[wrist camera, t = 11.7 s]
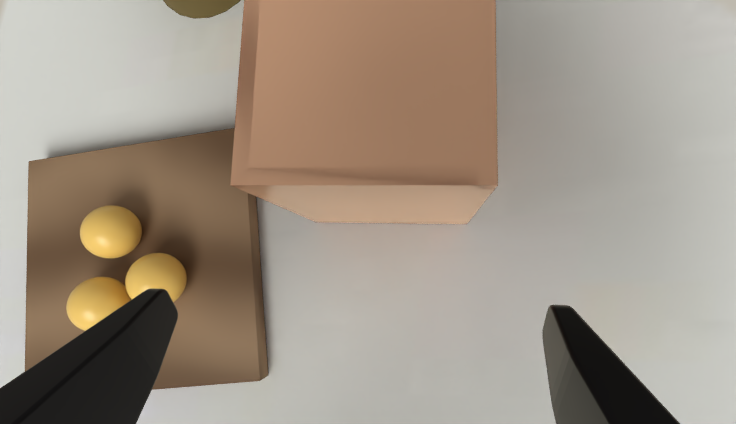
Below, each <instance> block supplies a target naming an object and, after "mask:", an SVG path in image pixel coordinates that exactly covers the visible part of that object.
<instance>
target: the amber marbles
mask: <svg viewBox="0 0 736 424" xmlns="http://www.w3.org/2000/svg"><path fill="white" fill-rule="evenodd" d="M141 236H142V227H141V223H140V221H139V219H138V218H137V216H136V215H135V214H134V213H132V212H131V211H130V210H128V209H126V208H124V207H120V206H113V205H110V206H103V207H100V208H97V209H95V210H93V211H92V212H90V213H89V214H88V215H87V216H86V217H85V219H84V220H83V222H82V224H81V227H80V238H81V241H82V243H83V245H84V246H85V248H86V249H87V250H88V251H89V252H91V253H92V254H94V255H96V256H98V257H102V258H118V257H122V256H124V255H127V254H128V253H130V252H131V251H133V250H134V249H135V248H136V246H137V245H138V244H139V242H140V239H141ZM186 282H187V275H186V271H185V268H184V267H183V265H182V264H181V262H180V261H179V260H177V259H176V258H175V257H173V256H171V255H168V254H165V253H152V254H148V255H145V256H143V257H141V258H139V259H138V260H137V261H135V262H134V263H133V264H132V266H131V267H130V268H129V270H128V272H127V275H126V279H125V286H126V287H125V286H124V285H123V284H122V283H121V282H120V281H118V280H116V279H113V278H110V277H95V278H91V279H88V280H86V281H84V282H82V283H80V284H79V285H78V286H77V287H76V288H75V289H74V290H73V291H72V292H71V294H70V296H69V298H68V301H67V305H66V310H67V315H68V317H69V319H70V321H71V322H72V323H73V324H74V325H75V326H76V327H78V328H80V329H82V330H84V331H86V330H87V329H89V328H90V327H92V326H93V325H95V324H96V323H98V322H99V321H101V320H102V319H104V318H105V317H107V316H108V315H110V314H111V313H113V312H114V311H116V310H117V309H119V308H120V307H121V306H123V305H124V304H126V303H127V302H129V301H130V300H131V299H133V298H135V297H136V296H138V295H139V294H141V293H142V292H144V291H145V290H147V289H151V288H155V289H165V290H166V291H167V292H168V293H169V295H170V297H171V299H172V301H173V302H175V301H176V300H177V299H178V298H179V297H180V296H181V294H182V293H183V291H184V289H185V287H186Z"/></svg>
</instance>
